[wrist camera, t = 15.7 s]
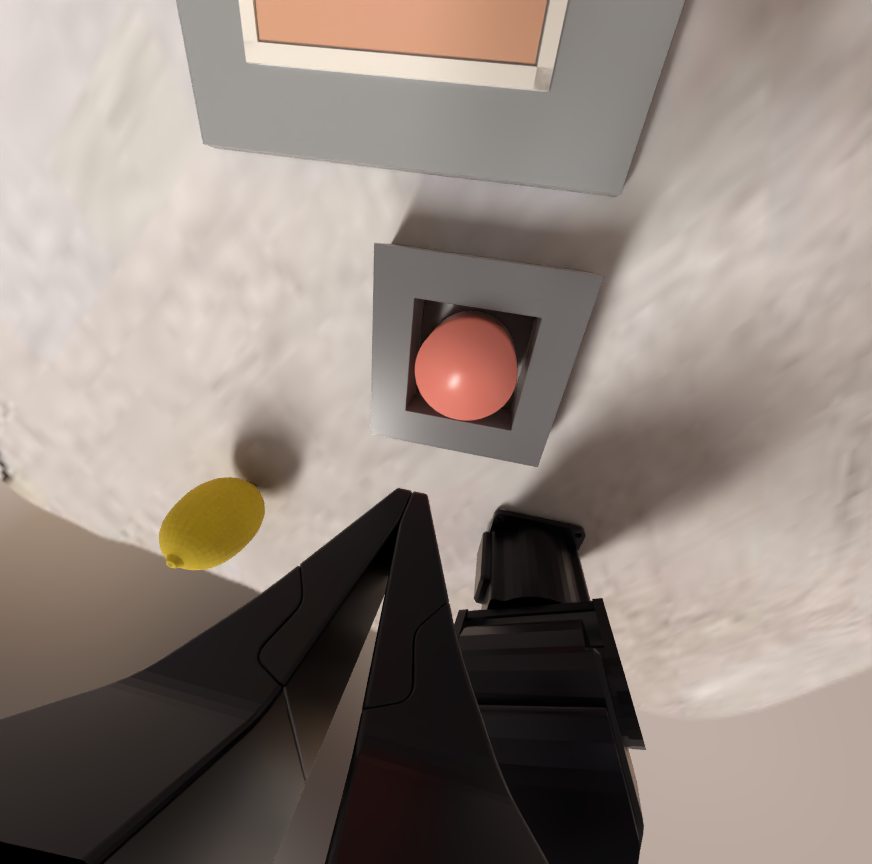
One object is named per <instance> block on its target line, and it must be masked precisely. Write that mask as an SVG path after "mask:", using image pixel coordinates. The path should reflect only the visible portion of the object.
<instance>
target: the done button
mask: <svg viewBox="0 0 872 864" xmlns="http://www.w3.org/2000/svg"><path fill="white" fill-rule="evenodd" d="M517 372H518V370H517V361H516V354H515V347H514V342H513V339H512V337H511V335H510V333H509V331H508V330H507V328H506V327H505V326H504V325H503V324H502V323H501V322H500V321H499V320H498V319H496V318H495V317H493V316H491V315H489V314H486V313H484V312H479V311H463V312H458V313H455V314H453V315H451V316H449V317H447V318H446V319H444V320H443V321H442V322H441V323H440V324H439V325H438V326H437V327H436V328H435V329H434V331H433V332H432V333H431V334H430V335H429V337H428V338H427V339H426V340H425V342H424V343H423V345H422V346H421V348H420V350H419V352H418V355H417V358H416V363H415V379H416V383H417V386H418V389H419V391H420V393H421V395H422V396H423V398H424V399H425V401H426V402H427V403H428V404H429V405H430V406H431V407H432V408H433V409H434V410H436V411H437V412H439V413H441V414H442V415H444V416H447V417H449V418H453V419H457V420H477V419H481V418H484V417H487V416H489V415H491V414H493V413H495V412H496V411H498V410H499V409H500V408H501V407H502V406H504V404H505V403H506V402H507V401H508V400H509V398H510V397H511V395H512V393H513V391H514V388H515V385H516V381H517Z"/></svg>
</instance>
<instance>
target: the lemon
mask: <svg viewBox="0 0 872 864" xmlns="http://www.w3.org/2000/svg"><path fill="white" fill-rule="evenodd" d="M264 513H265V507H264V500H263V498H262V495H261V494H260V492H259V491H258V490H257V488H256V486H255V485H254V484H252V483H249V482H247V481H245V480H242V479H238V478H232V477H229V478H218V479H214V480H211V481H208V482H206V483H203V484H201V485H199V486H197V487H196V488H194V489H193V490H191V491H190V492H188V493H187V494H186V495H185V496H184V497H183V498H182V499H181V500H180V501H179V502H178V503H177V504H176V505H175V506H174V507H173V508H172V509H171V510H170V512H169V513H168V514H167V516H166V517H165V519H164V521H163V523H162V526H161V529H160V532H159V544H160V549H161V551H162V553H163V555H164V556H165V558H166V564H167V565H168V566H169V567H171V568H179V567H180V568H184V569H188V570H202V569H209V568H212V567H215V566H218V565H220V564H222V563H224V562H226V561H227V560H229V559H231V558H232V557H233V556H235V555H236V554H237V553H238V552H240V551H241V550H242V549H243V548H244V547H245V546H246V545H247V544H248V543H249V542H250V541H251V540H252V538H253V537H254V536H255V535H256V533H257V532H258V530H259V528H260V526H261V524H262V521H263V518H264Z"/></svg>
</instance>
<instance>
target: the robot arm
mask: <svg viewBox="0 0 872 864" xmlns="http://www.w3.org/2000/svg"><path fill="white" fill-rule="evenodd" d="M499 516H502V518H501V517H499ZM575 533H578V534H575ZM584 538H585V531H584V529H583V528H582V527H580V526H576V525H571V524H566V523H562V522H557V521H552V520H548V519H543V518H538V517H533V516H529V515H524V514H519V513H514V512H510V511H505V510H497V511H495V513H494V515H493V519H492V522H491V526H490V529H489V532H487V531H486V532H484V533H483V535H482V539H481V543H480V546H479V550H478V554H477V565H476V578H475V591H474V600H475V601H476V603H480V604H482V610H472V611H468V609H466V610H459V612H458V615H457V618H456V621H455V624H454V623H453V618H452V613H451V608H450V604H449V599H448V594H447V589H446V584H445V579H444V574H443V569H442V564H441V559H440V554H439V549H438V544H437V539H436V535H435V530H434V525H433V520H432V515H431V510H430V505H429V500H428V496H427V495H426V494H424V493H419V492H413V493H412V492H411V491H410V490H406V489H401V488H397V489H396V490H394V491H393V492H392V493H390V494H389V495H388V496H387V497H385V498H384V499H383V500H382V501H380V502H379V503H378V504H376V505H375V506H374V507H373V508H371V509H370V510H369V511H367V512H366V513H365V514H364V515H362V516H361V517H360V518H358V519H357V520H356V521H355V522H353V523H352V524H351V525H350V526H348V527H347V528H346V529H344V530H343V531H342V532H341V533H339V534H338V535H337V536H335V537H334V538H333V539H332V540H330V541H329V542H328V543H327V544H325V545H324V546H323V547H321V548H320V549H319V550H318V551H316V552H315V553H314V554H312V555H311V556H310V557H309V558H307V559H306V560H305V561H304V562H302V563H301V564H300V566H297V567H296V568H294V569H293V570H292V571H291V572H289V573H288V574H287V575H285V576H284V577H283V578H281V579H280V580H279V581H277V582H276V583H275V584H273V585H272V586H271V587H269V588H268V589H267V590H265V591H264V592H263V593H261V594H260V595H258V596H257V597H255V598H254V599H252V600H251V601H249V602H248V603H246V604H245V605H243V606H242V607H240V608H239V609H237V610H236V611H235V612H233V613H231V614H230V615H228V616H227V617H225V618H224V619H222V620H221V621H219V622H217V623H216V624H214V625H213V626H211V627H210V628H208V629H207V630H205V631H204V632H202V633H200V634H199V635H197V636H196V637H194V638H193V639H191V640H190V641H188V642H187V643H185V644H183V645H182V646H180V647H179V648H177V649H176V650H174V651H173V652H171V653H170V654H168V655H166V656H165V657H163V658H161V659H160V660H158V661H156V662H155V663H153V664H151V665H149V666H147V667H146V668H144V669H142V670H140V671H138V672H136V673H133V674H131V675H129V676H127V677H125V678H122V679H120V680H117V681H115V682H112V683H109V684H106V685H103V686H100V687H97V688H94V689H91V690H88V691H84V692H81V693H78V694H75V695H72V696H69V697H66V698H62V699H59V700H56V701H53V702H50V703H47V704H43V705H40V706H37V707H34V708H31V709H27V710H25V711H21V712H18V713H15V714H12V715H9V716H5V717H2V718H0V864H272V863H273V861H274V858H275V856H276V854H277V851H278V849H279V846H280V844H281V842H282V839H283V837H284V835H285V832H286V829H287V827H288V825H289V823H290V820H291V818H292V815H293V813H294V811H295V808H296V806H297V803H298V801H299V799H300V796H301V794H302V791H303V789H304V787H305V784H306V783H305V781H306V780H307V779H308V777H309V774H310V772H311V770H312V767H313V765H314V762H315V760H316V757H317V755H318V752H319V750H320V748H321V745H322V743H323V741H324V738H325V736H326V734H327V731H328V729H329V726H330V724H331V722H332V719H333V717H334V714H335V712H336V710H337V707H338V705H339V702H340V700H341V697H342V695H343V693H344V690H345V688H346V685H347V683H348V681H349V678H350V676H351V674H352V671H353V668H354V666H355V664H356V662H357V659H358V657H359V654H360V652H361V650H362V647H363V645H364V642H365V640H366V638H367V635H368V633H369V630H370V628H371V626H372V623H373V621H374V618H375V616H376V614H377V611H378V609H379V606H380V604H381V602H382V599H383V597H384V601H383V606H382V611H381V616H380V621H379V626H378V631H377V637H376V642H375V647H374V652H373V657H372V662H371V667H370V672H369V677H368V682H367V687H366V692H365V697H364V702H363V707H362V713H361V717H360V722H359V727H358V732H357V737H356V741H355V745H354V750H353V754H352V759H351V763H350V767H349V771H348V775H347V779H346V783H345V787H344V790H343V794H342V798H341V802H340V806H339V810H338V814H337V818H336V822H335V826H334V830H333V834H332V838H331V841H330V846H329V850H328V854H327V857H326V861H325V864H638V861H639V854H640V847H641V842H642V837H643V828H644V825H643V818H642V812H641V805H640V799H639V793H638V786H637V781H636V777H635V773H634V769H633V765H632V761H631V758H630V754H629V750H628V748H630V749H640V750H641V749H642V750H646V748H645V745H644V741H643V737H642V734H641V730H640V727H639V723H638V720H637V716H636V713H635V709H634V706H633V702H632V699H631V695H630V692H629V688H628V685H627V681H626V678H625V674H624V671H623V667H622V664H621V660H620V657H619V654H618V650H617V647H616V643H615V640H614V637H613V633H612V630H611V626H610V623H609V620H608V616H607V613H606V609H605V606H604V602H603V599H602V598H599V599H592V600H593V601H590V597H589V593H588V589H587V585H586V581H585V577H584V573H583V569H582V566H581V562H580V558H579V554H578V550H579V548H580V546H581V544H582V542H583V540H584ZM384 594H385V596H384Z"/></svg>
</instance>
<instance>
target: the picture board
mask: <svg viewBox="0 0 872 864" xmlns="http://www.w3.org/2000/svg"><path fill="white" fill-rule="evenodd" d="M176 2H177V7H178V13H179V18H180V23H181V29H182V34H183V39H184V45H185V50H186V55H187V61H188V66H189V71H190V77H191V82H192V87H193V93H194V98H195V103H196V108H197V114H198V119H199V124H200V130H201V135H202V140H203V144H205V145H208V146H211V147H214V148H218V149H227V150H235V151H243V152H251V153H260V154H268V155H276V156H284V157H293V158H301V159H309V160H317V161H325V162H334V163H342V164H350V165H358V166H367V167H375V168H383V169H391V170H400V171H408V172H416V173H424V174H432V175H441V176H449V177H457V178H465V179H474V180H482V181H490V182H498V183H507V184H515V185H523V186H531V187H539V188H548V189H556V190H564V191H572V192H581V193H589V194H597V195H605V196H614V197H615V196H617V195H620V194H621V191H622V188H623V185H624V182H625V179H626V176H627V173H628V170H629V167H630V164H631V161H632V158H633V155H634V152H635V149H636V146H637V143H638V140H639V137H640V134H641V131H642V128H643V125H644V122H645V119H646V116H647V113H648V110H649V107H650V104H651V101H652V98H653V95H654V92H655V89H656V86H657V83H658V80H659V77H660V74H661V71H662V68H663V65H664V62H665V59H666V56H667V53H668V50H669V47H670V44H671V41H672V38H673V35H674V32H675V29H676V26H677V23H678V20H679V17H680V14H681V11H682V8H683V5H684V2H685V0H176Z"/></svg>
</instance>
